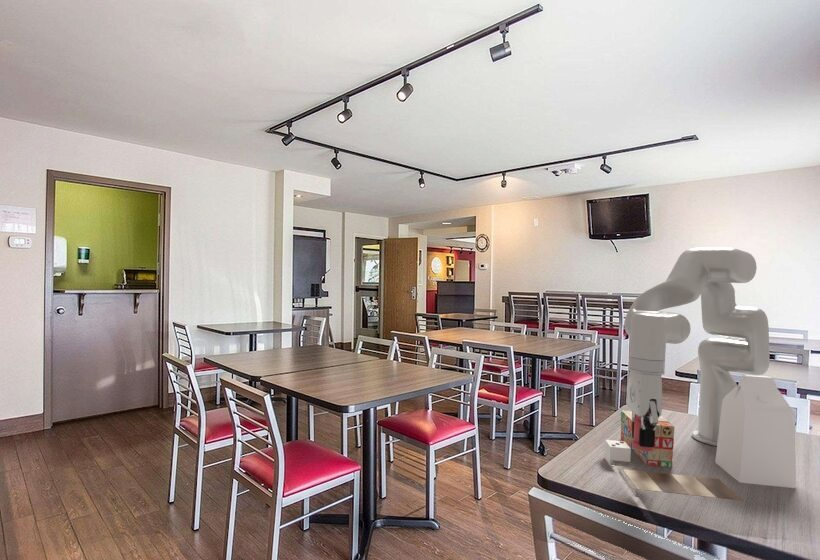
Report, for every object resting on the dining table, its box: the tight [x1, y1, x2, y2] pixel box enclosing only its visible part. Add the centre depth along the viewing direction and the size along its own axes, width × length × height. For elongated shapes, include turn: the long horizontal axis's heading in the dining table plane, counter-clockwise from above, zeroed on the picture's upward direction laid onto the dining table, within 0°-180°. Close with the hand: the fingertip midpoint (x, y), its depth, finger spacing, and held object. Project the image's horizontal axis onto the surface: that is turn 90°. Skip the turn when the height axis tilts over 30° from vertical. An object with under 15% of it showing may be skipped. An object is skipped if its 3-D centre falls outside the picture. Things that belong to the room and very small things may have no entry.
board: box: [618, 468, 744, 501], centre depth 103 cm, size 23×12×1 cm, turn 81°
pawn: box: [632, 413, 653, 451], centre depth 104 cm, size 4×4×9 cm
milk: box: [714, 374, 797, 489], centre depth 110 cm, size 12×12×26 cm
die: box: [604, 439, 632, 467], centre depth 118 cm, size 5×5×5 cm
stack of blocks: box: [620, 410, 675, 468], centre depth 123 cm, size 21×6×12 cm, turn 171°
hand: (642, 441), depth 105 cm, fingers closed on pawn, 4 cm apart
